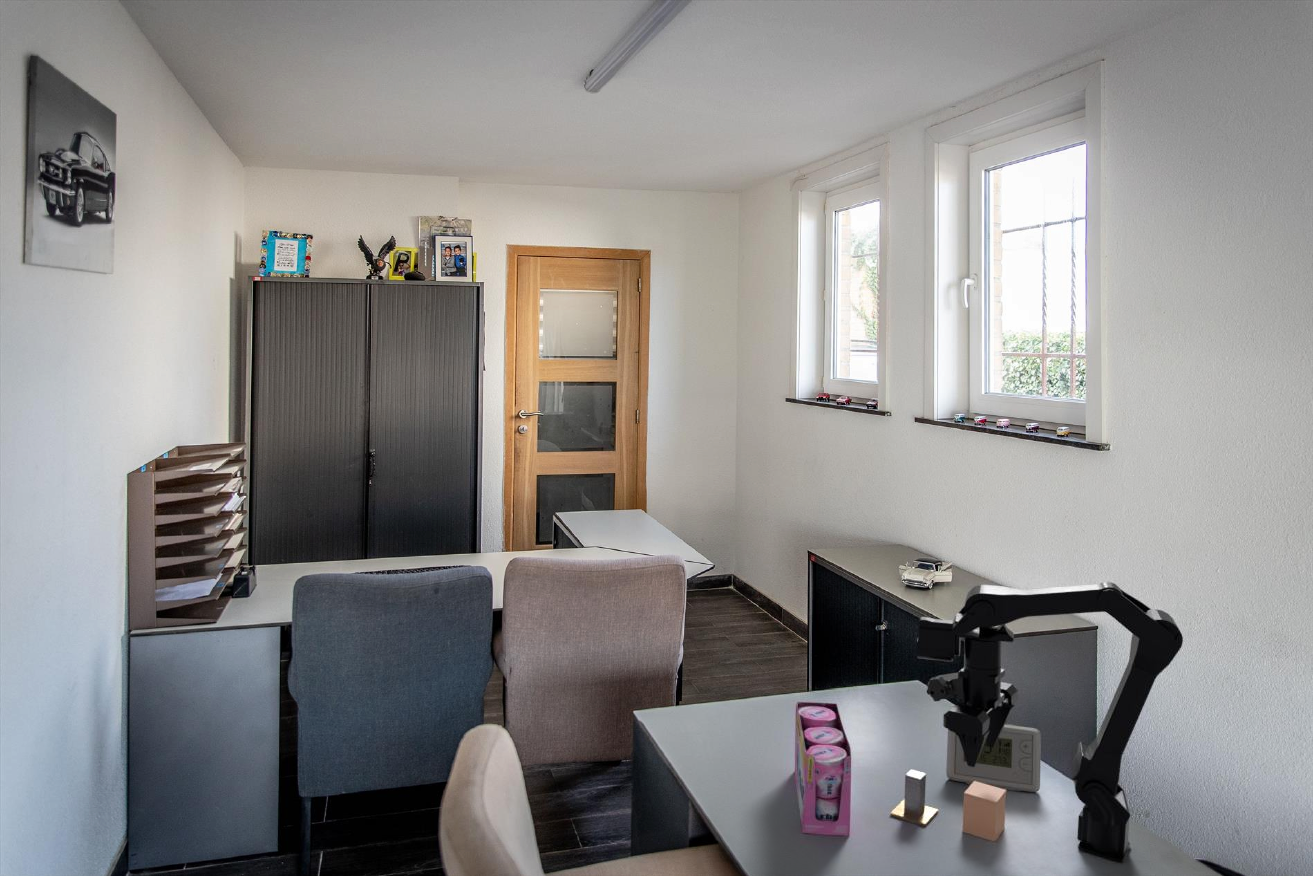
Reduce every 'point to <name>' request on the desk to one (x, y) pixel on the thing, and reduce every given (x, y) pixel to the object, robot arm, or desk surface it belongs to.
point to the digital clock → (1000, 760)
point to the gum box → (822, 769)
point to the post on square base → (914, 801)
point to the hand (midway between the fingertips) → (980, 756)
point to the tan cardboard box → (984, 810)
